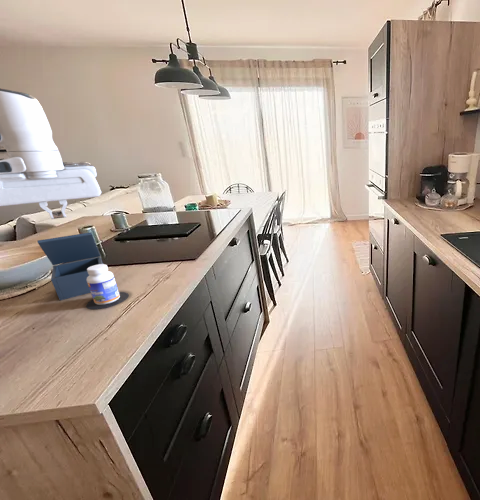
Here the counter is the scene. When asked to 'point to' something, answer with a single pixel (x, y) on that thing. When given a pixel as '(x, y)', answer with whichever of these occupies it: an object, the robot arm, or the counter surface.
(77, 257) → the box lid
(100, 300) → the pill bottle
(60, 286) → the box
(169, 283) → the counter surface
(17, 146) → the robot arm
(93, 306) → the coaster
